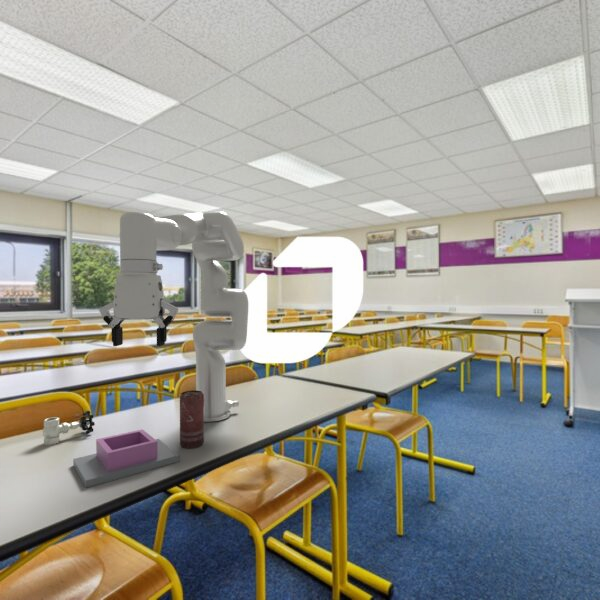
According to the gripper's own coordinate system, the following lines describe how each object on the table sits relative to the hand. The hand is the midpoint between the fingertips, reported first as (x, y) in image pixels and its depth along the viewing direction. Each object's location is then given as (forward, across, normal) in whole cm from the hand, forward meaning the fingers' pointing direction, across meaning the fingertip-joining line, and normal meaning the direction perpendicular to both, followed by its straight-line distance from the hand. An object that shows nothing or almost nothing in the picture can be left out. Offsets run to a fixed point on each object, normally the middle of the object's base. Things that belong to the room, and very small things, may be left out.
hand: (139, 345), depth 87 cm
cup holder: (+29, +5, -5) cm, 30 cm away
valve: (+29, +30, -21) cm, 47 cm away
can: (+29, -7, -17) cm, 34 cm away
